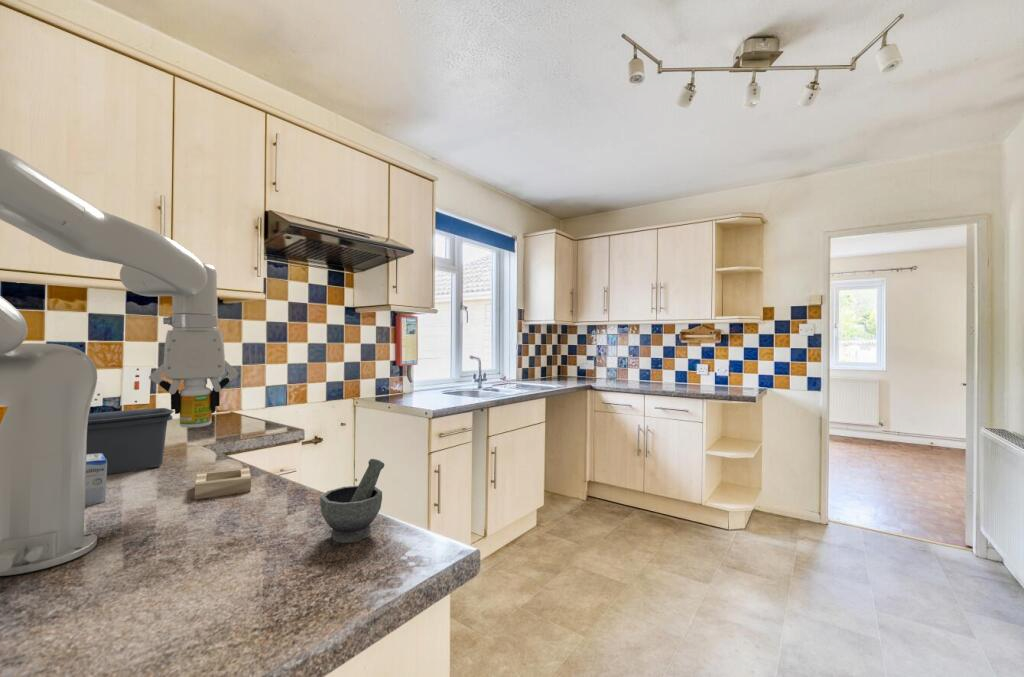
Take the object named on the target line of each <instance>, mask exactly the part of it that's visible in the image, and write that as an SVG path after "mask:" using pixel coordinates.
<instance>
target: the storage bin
mask: <svg viewBox="0 0 1024 677" xmlns="http://www.w3.org/2000/svg"><path fill="white" fill-rule="evenodd" d="M173 413H175V410H174V409H173V410H171V408H170V409H169V408H166V407H157V408H156V407H155V408H153V407H152V408H139V409H129V410H127V409H126V410H117V411H115V410H114V411H103V412H94V413H93V412H92V413H90V412H89V416H88V425H87V454H101V453H102V454H103V456H104V457H105V459H106V460H107V476H110V475H114V474H115V475H116V474H121V473H122V474H123V473H127V472H133V471H138V470H145V469H151V468H157V467H160V466H162V465H163V460H164V455H165V454H164V453H165V445H166V435H167V427H168V421H171V420H173V415H172V414H173ZM87 454H86V455H87ZM109 474H110V475H109Z"/></svg>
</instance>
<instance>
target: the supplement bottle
mask: <svg viewBox="0 0 1024 677" xmlns="http://www.w3.org/2000/svg"><path fill="white" fill-rule="evenodd" d="M182 384H183V386H184V388H183V389H181V390H179V393H180V413H179V426H180V427H182V428H200V427H205V426H208V425H211V424H212V422H213V421H212V419H213V416H212V415H213V414H212V413H213V411H212V410H211V392H212V389H211V388H210V387H207V385H208V379H189V380H183V383H182Z"/></svg>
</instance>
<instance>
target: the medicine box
mask: <svg viewBox="0 0 1024 677" xmlns="http://www.w3.org/2000/svg"><path fill="white" fill-rule="evenodd" d="M107 476H108V475H107V460H106V459H105V457H104V456H103V454H102V453H101V454H87V455H86V484H85V507H86V506H92V505H97V503H98V504H102V503H105V502H106V499H107V498H106V497H107Z"/></svg>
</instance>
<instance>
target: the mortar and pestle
mask: <svg viewBox="0 0 1024 677" xmlns="http://www.w3.org/2000/svg"><path fill="white" fill-rule="evenodd" d="M384 467H385V463H384V462H383V461H382V460H380V459H375V458H370V459H369V460H368V466H367V467H366V468H367V469H366V470H365V472H364V474H363V476H362V478H361V479H360V482H359V484H358V485H351V486H350V485H349V486H342V487H338V488H335V489H331V490H327V491H326V492H325V493H324V494H322V495H321V496H320V499H319V500H320V511H321V515H322V517H323V519H324V521H325V523H327V525H328V526H329V527H330V528H331V529H332V530H331V535H330V536H331V537H332V538H333V539H332V538H331V537H330V538H331V539H332V540H333V541H334V542H335V541H336V543H342V544H348V543H350V544H351V543H356V542H359V541H362V539H363V540H364V538H365V539H367V538H368V537H369V536H370V534H371V523H373V521H374V520H375V518H376V517H377V516H378V514H379V512H380V510H381V507H382V502H383V491H382V490H380V489H379V488H378V487H376V485H377V483H378V481H379V476H380V474H381V471H382V469H384ZM368 535H369V536H368ZM366 537H367V538H366Z"/></svg>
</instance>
